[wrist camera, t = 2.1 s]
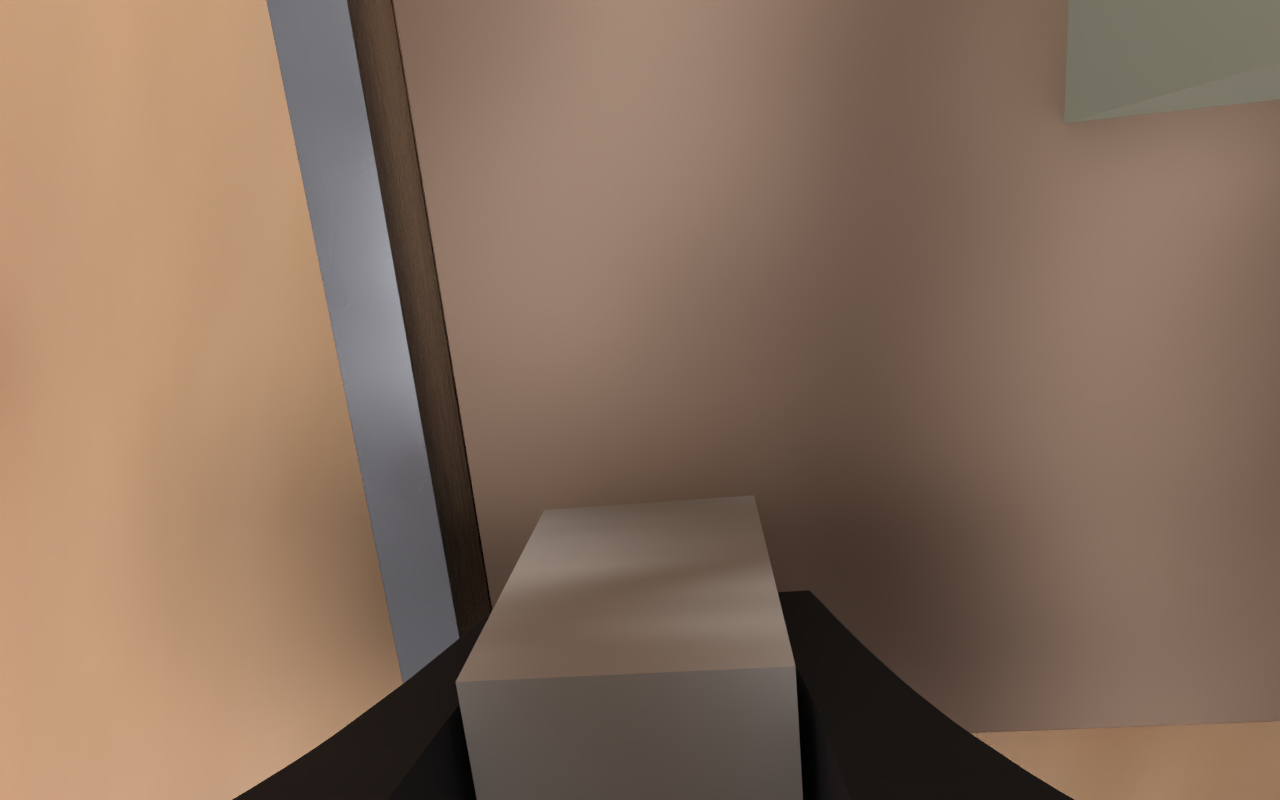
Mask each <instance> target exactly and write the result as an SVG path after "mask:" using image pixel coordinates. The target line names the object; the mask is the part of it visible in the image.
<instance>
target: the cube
mask: <svg viewBox="0 0 1280 800" xmlns="http://www.w3.org/2000/svg"><path fill="white" fill-rule="evenodd" d="M1278 99H1280V0H1069V2H1068V31H1067V59H1066V88H1065V117H1064V123H1070V122H1079V121H1088V120H1097V119H1106V118H1115V117H1124V116H1133V115H1142V114H1151V113H1160V112H1169V111H1179V110H1188V109H1197V108H1206V107H1215V106H1224V105H1233V104H1242V103H1251V102H1260V101H1269V100H1278Z"/></svg>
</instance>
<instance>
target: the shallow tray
mask: <svg viewBox="0 0 1280 800" xmlns="http://www.w3.org/2000/svg"><path fill="white" fill-rule="evenodd" d="M393 2H394V8H395V15H396V21H397V27H398V33H399V39H400V45H401V51H402V58H403V64H404V70H405V76H406V82H407V88H408V94H409V101H410V107H411V113H412V119H413V125H414V131H415V138H416V144H417V150H418V156H419V162H420V168H421V174H422V181H423V187H424V193H425V199H426V205H427V211H428V217H429V224H430V230H431V236H432V242H433V248H434V254H435V260H436V267H437V273H438V279H439V285H440V291H441V297H442V303H443V310H444V316H445V322H446V328H447V334H448V340H449V346H450V353H451V359H452V365H453V371H454V377H455V383H456V390H457V396H458V402H459V408H460V414H461V420H462V426H463V433H464V439H465V445H466V451H467V457H468V463H469V469H470V476H471V482H472V488H473V494H474V500H475V506H476V512H477V519H478V525H479V531H480V537H481V543H482V549H483V555H484V562H485V568H486V574H487V580H488V586H489V592H490V598H491V605H492V612H491V614H490V616H489V618H488V620H487V622H486V624H485V626H484V628H483V630H482V632H481V634H480V636H479V638H478V639H477V641H476V643H475V645H474V647H473V649H472V651H471V653H470V655H469V657H468V659H467V661H466V663H465V665H464V667H463V669H462V671H461V672H460V674H459V676H458V678H457V680H456V687H457V693H458V698H459V704H460V710H461V715H462V721H463V726H464V732H465V737H466V743H467V748H468V754H469V759H470V765H471V770H472V776H473V782H474V787H475V793H476V798H477V800H803V791H802V773H801V755H800V737H799V720H798V702H797V684H796V666H795V662H794V658H793V654H792V650H791V645H790V641H789V637H788V633H787V629H786V625H785V621H784V617H783V612H782V608H781V604H780V600H779V596H778V592H788V591H806V590H809V591H810V592H812V593H813V594H814V595H815V596H816V597H817V598H818V599H819V600H820V601H821V602H822V603H823V604H824V605H825V606H826V607H827V608H828V609H829V610H830V611H831V613H832V614H833V615H834V616H835V617H836V618H837V619H838V620H839V621H840V622H841V623H842V624H843V625H844V626H845V627H846V628H847V629H848V630H849V631H850V632H851V633H852V634H853V635H854V636H855V637H856V638H857V639H858V640H859V641H860V642H861V643H862V644H863V645H864V646H865V647H866V648H868V649H869V650H870V651H871V652H872V653H873V654H874V655H875V656H876V657H877V658H878V659H879V660H881V661H882V662H883V663H884V664H885V665H886V666H887V667H888V668H889V669H890V670H892V671H893V672H894V673H895V674H896V675H897V676H898V677H899V678H900V679H902V680H903V681H904V682H905V683H906V684H907V685H909V686H910V687H911V688H912V689H913V690H914V691H916V692H917V693H918V694H919V695H921V696H922V697H923V698H924V699H926V700H927V701H928V702H930V703H931V704H932V705H933V706H935V707H936V708H937V709H938V710H940V711H941V712H942V713H943V714H945V715H946V716H947V717H949V718H950V719H951V720H953V721H954V722H955V723H957V724H958V725H959V726H961V727H962V728H964V729H965V730H966V731H968V732H969V733H981V732H1007V731H1034V730H1060V729H1086V728H1113V727H1139V726H1165V725H1192V724H1218V723H1244V722H1271V721H1280V99H1278V100H1269V101H1260V102H1251V103H1242V104H1233V105H1224V106H1215V107H1206V108H1197V109H1188V110H1179V111H1169V112H1160V113H1151V114H1142V115H1133V116H1124V117H1115V118H1106V119H1097V120H1088V121H1079V122H1070V123H1064V117H1065V88H1066V59H1067V31H1068V2H1069V0H393Z"/></svg>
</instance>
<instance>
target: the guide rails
mask: <svg viewBox="0 0 1280 800" xmlns="http://www.w3.org/2000/svg"><path fill="white" fill-rule="evenodd" d="M267 5H268V10H269V15H270V20H271V25H272V30H273V35H274V40H275V45H276V50H277V55H278V60H279V65H280V70H281V75H282V80H283V85H284V90H285V95H286V100H287V105H288V110H289V115H290V120H291V125H292V130H293V135H294V140H295V145H296V150H297V155H298V160H299V165H300V170H301V175H302V180H303V185H304V190H305V195H306V200H307V205H308V210H309V215H310V220H311V225H312V230H313V235H314V240H315V245H316V250H317V255H318V260H319V265H320V270H321V275H322V280H323V285H324V290H325V295H326V300H327V305H328V310H329V315H330V320H331V325H332V330H333V335H334V340H335V345H336V350H337V355H338V360H339V365H340V370H341V375H342V380H343V385H344V390H345V395H346V400H347V405H348V410H349V415H350V420H351V425H352V430H353V435H354V440H355V445H356V450H357V455H358V460H359V465H360V470H361V475H362V480H363V485H364V490H365V495H366V500H367V505H368V510H369V515H370V520H371V525H372V530H373V535H374V540H375V545H376V550H377V555H378V560H379V565H380V570H381V575H382V580H383V585H384V590H385V595H386V600H387V605H388V610H389V615H390V620H391V625H392V630H393V635H394V640H395V645H396V650H397V656H398V661H399V666H400V671H401V676H402V681H403V684H404V683H405V682H406V681H407V680H409V679H410V678H411V677H412V676H414V675H415V674H416V673H417V672H418V671H420V670H421V669H422V668H423V667H425V666H426V665H427V664H428V663H430V662H431V661H432V660H433V659H435V658H436V657H437V656H438V655H440V654H441V653H442V652H443V651H444V650H446V649H447V648H448V647H449V646H451V645H452V644H453V643H454V642H455V641H457V640H458V639H459V638H460V637H462V636H463V635H464V634H465V633H466V632H468V631H469V630H470V629H471V628H473V627H474V626H475V625H476V624H478V623H479V622H480V621H481V620H483V619H484V618H485V617H487V616H488V615H489V614H491V610H490V604H489V597H488V591H487V585H486V579H485V573H484V567H483V561H482V555H481V548H480V542H479V536H478V530H477V524H476V518H475V512H474V506H473V499H472V493H471V487H470V481H469V475H468V469H467V463H466V457H465V451H464V444H463V438H462V432H461V426H460V420H459V414H458V408H457V402H456V395H455V389H454V383H453V377H452V371H451V365H450V359H449V353H448V346H447V340H446V334H445V328H444V322H443V316H442V310H441V304H440V297H439V291H438V285H437V279H436V273H435V267H434V261H433V255H432V248H431V242H430V236H429V230H428V224H427V218H426V212H425V206H424V200H423V193H422V187H421V181H420V175H419V169H418V163H417V157H416V151H415V144H414V138H413V132H412V126H411V120H410V114H409V108H408V102H407V95H406V89H405V83H404V77H403V71H402V65H401V59H400V53H399V46H398V40H397V34H396V28H395V22H394V16H393V10H392V4H391V0H267Z"/></svg>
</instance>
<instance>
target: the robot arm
mask: <svg viewBox="0 0 1280 800" xmlns="http://www.w3.org/2000/svg"><path fill="white" fill-rule="evenodd" d="M778 596H779V600H780V604H781V608H782V612H783V617H784V621H785V625H786V629H787V633H788V637H789V641H790V645H791V650H792V654H793V658H794V662H795V666H796V684H797V702H798V720H799V737H800V755H801V773H802V791H803V800H1074V799H1072V798H1070V797H1069V796H1067V795H1065V794H1063V793H1062V792H1060V791H1058V790H1057V789H1055V788H1053V787H1052V786H1050V785H1048V784H1047V783H1045V782H1043V781H1042V780H1040V779H1039V778H1037V777H1035V776H1034V775H1032V774H1030V773H1029V772H1027V771H1026V770H1024V769H1023V768H1021V767H1020V766H1018V765H1017V764H1015V763H1014V762H1012V761H1011V760H1009V759H1008V758H1006V757H1005V756H1003V755H1002V754H1000V753H999V752H997V751H996V750H994V749H993V748H991V747H990V746H988V745H987V744H985V743H984V742H982V741H981V740H979V739H978V738H976V737H975V736H973V735H972V734H970V733H969V732H968V731H966V730H965V729H964V728H962V727H961V726H959V725H958V724H957V723H955V722H954V721H953V720H951V719H950V718H949V717H947V716H946V715H945V714H943V713H942V712H941V711H940V710H938V709H937V708H936V707H935V706H933V705H932V704H931V703H930V702H928V701H927V700H926V699H924V698H923V697H922V696H921V695H919V694H918V693H917V692H916V691H914V690H913V689H912V688H911V687H910V686H909V685H907V684H906V683H905V682H904V681H903V680H902V679H900V678H899V677H898V676H897V675H896V674H895V673H894V672H893V671H892V670H890V669H889V668H888V667H887V666H886V665H885V664H884V663H883V662H882V661H881V660H879V659H878V658H877V657H876V656H875V655H874V654H873V653H872V652H871V651H870V650H869V649H868V648H866V647H865V646H864V645H863V644H862V643H861V642H860V641H859V640H858V639H857V638H856V637H855V636H854V635H853V634H852V633H851V632H850V631H849V630H848V629H847V628H846V627H845V626H844V625H843V624H842V623H841V622H840V621H839V620H838V619H837V618H836V617H835V616H834V615H833V614H832V613H831V611H830V610H829V609H828V608H827V607H826V606H825V605H824V604H823V603H822V602H821V601H820V600H819V599H818V598H817V597H816V596H815V595H814V594H813V593H812V592H810V591H809V590H806V591H788V592H778ZM489 616H490V614H489V615H488V616H487V617H485V618H484V619H483V620H481V621H480V622H479V623H478V624H476V625H475V626H474V627H473V628H471V629H470V630H469V631H468V632H466V633H465V634H464V635H463V636H462V637H460V638H459V639H458V640H457V641H455V642H454V643H453V644H452V645H451V646H449V647H448V648H447V649H446V650H444V651H443V652H442V653H441V654H440V655H438V656H437V657H436V658H435V659H433V660H432V661H431V662H430V663H428V664H427V665H426V666H425V667H423V668H422V669H421V670H420V671H418V672H417V673H416V674H415V675H414V676H412V677H411V678H410V679H409V680H407V681H406V682H405V683H404V684H402V685H401V686H400V687H398V688H397V689H396V690H394V691H393V692H392V693H390V694H389V695H388V696H386V697H385V698H384V699H382V700H381V701H380V702H378V703H377V704H376V705H374V706H373V707H372V708H370V709H369V710H367V711H366V712H365V713H363V714H362V715H361V716H359V717H358V718H357V719H355V720H354V721H353V722H351V723H350V724H349V725H347V726H346V727H344V728H343V729H342V730H340V731H339V732H338V733H336V734H335V735H334V736H332V737H331V738H329V739H328V740H326V741H325V742H323V743H322V744H320V745H319V746H318V747H316V748H315V749H313V750H311V751H310V752H308V753H307V754H305V755H304V756H302V757H301V758H299V759H298V760H296V761H295V762H293V763H292V764H290V765H288V766H287V767H285V768H284V769H282V770H280V771H279V772H277V773H276V774H274V775H272V776H271V777H269V778H267V779H266V780H264V781H263V782H261V783H259V784H258V785H256V786H255V787H253V788H251V789H250V790H248V791H246V792H245V793H243V794H241V795H240V796H238V797H236V798H234V799H233V800H477V798H476V793H475V787H474V782H473V776H472V770H471V765H470V759H469V754H468V748H467V743H466V737H465V732H464V726H463V721H462V715H461V710H460V704H459V698H458V693H457V687H456V680H457V678H458V676H459V674H460V672H461V671H462V669H463V667H464V665H465V663H466V661H467V659H468V657H469V655H470V653H471V651H472V649H473V647H474V645H475V643H476V641H477V639H478V638H479V636H480V634H481V632H482V630H483V628H484V626H485V624H486V622H487V620H488V618H489Z"/></svg>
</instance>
